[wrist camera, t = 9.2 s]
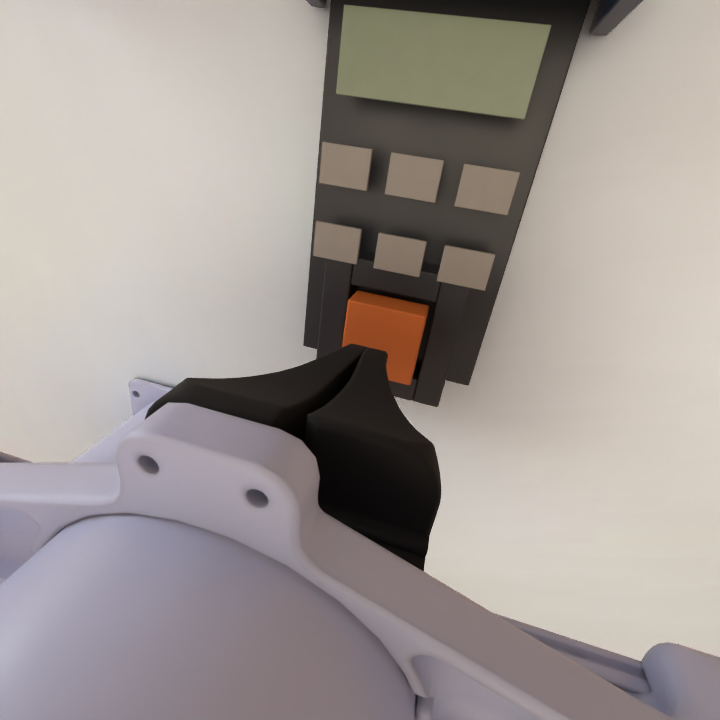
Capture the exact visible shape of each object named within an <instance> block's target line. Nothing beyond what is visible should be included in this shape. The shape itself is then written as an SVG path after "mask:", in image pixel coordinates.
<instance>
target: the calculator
mask: <svg viewBox="0 0 720 720" xmlns="http://www.w3.org/2000/svg"><path fill="white" fill-rule="evenodd" d="M589 3H590V0H331V4H330V17H329V29H328V42H327V55H326V67H325V80H324V93H323V105H322V118H321V130H320V143H319V156H318V168H317V181H316V194H315V206H314V219H313V232H312V244H311V257H310V269H309V282H308V295H307V307H306V320H305V333H304V346H307V347H311V348H315V349H317V358H316V359H319V358H321V357H323V356H325V355H328V354H330V353H332V352H334V351H336V350H338V349H340V348H342V343H343V335H344V328H345V320H346V312H347V305H348V300H349V299H350V298H351V297H352V296H353V295H354V294H355V293H356V291H358V290H359V291H364V292H368V293H373V294H378V295H382V296H387V297H392V298H396V299H401V300H406V301H410V302H415V303H420V304H424V305H428V306H429V310H428V314H427V319H426V323H425V327H424V331H423V336H422V340H421V344H420V348H419V353H418V357H417V361H416V365H415V370H414V373H413V377H412V381H411V384H410V385H406V384H402V383H398V382H394V381H390V380H389V384H390V387H391V390H392V393H393V396H395V397H399V398H403V399H407V400H413V401H415V402H419V403H423V404H427V405H431V406H435V407H438V405H439V401H440V398H441V394H442V391H443V387H444V384H445V380H447V381H452V382H456V383H460V384H464V385H469V382H470V379H471V376H472V373H473V369H474V366H475V363H476V360H477V357H478V354H479V350H480V347H481V344H482V341H483V338H484V335H485V332H486V328H487V325H488V322H489V319H490V316H491V313H492V309H493V306H494V303H495V300H496V297H497V294H498V290H499V287H500V284H501V281H502V278H503V275H504V271H505V268H506V265H507V262H508V259H509V256H510V252H511V249H512V246H513V243H514V240H515V237H516V234H517V230H518V227H519V224H520V221H521V218H522V215H523V211H524V208H525V205H526V202H527V199H528V196H529V192H530V189H531V186H532V183H533V180H534V177H535V173H536V170H537V167H538V164H539V161H540V158H541V154H542V151H543V148H544V145H545V142H546V139H547V136H548V132H549V129H550V126H551V123H552V120H553V117H554V113H555V110H556V107H557V104H558V101H559V98H560V94H561V91H562V88H563V85H564V82H565V79H566V75H567V72H568V69H569V66H570V63H571V60H572V56H573V53H574V50H575V47H576V44H577V41H578V38H579V34H580V31H581V28H582V25H583V22H584V19H585V15H586V12H587V9H588V6H589ZM344 5H354V6H364V7H375V8H385V9H395V10H405V11H415V12H426V13H436V14H446V15H456V16H466V17H476V18H487V19H497V20H507V21H517V22H527V23H538V24H548V25H551V29H550V33H549V36H548V39H547V43H546V46H545V50H544V53H543V57H542V60H541V64H540V67H539V71H538V74H537V78H536V81H535V85H534V88H533V92H532V95H531V99H530V102H529V106H528V109H527V113H526V116H525V119H524V120H520V119H512V118H505V117H498V116H490V115H483V114H475V113H468V112H461V111H453V110H446V109H438V108H431V107H424V106H416V105H409V104H402V103H394V102H387V101H379V100H372V99H365V98H357V97H350V96H342V95H337V94H336V88H337V77H338V66H339V55H340V44H341V33H342V23H343V12H344ZM322 142H329V143H335V144H342V145H348V146H354V147H361V148H367V149H373V155H372V162H371V170H370V177H369V184H368V191H363V190H357V189H351V188H346V187H340V186H334V185H328V184H322V183H319V177H320V165H321V153H322ZM391 152H393V153H399V154H406V155H412V156H419V157H425V158H432V159H438V160H444V165H443V169H442V174H441V179H440V183H439V188H438V193H437V197H436V202H435V203H432V202H426V201H421V200H415V199H409V198H403V197H398V196H392V195H386V194H385V189H386V183H387V177H388V170H389V164H390V157H391ZM464 164H470V165H477V166H483V167H489V168H496V169H502V170H509V171H515V172H520V175H519V178H518V182H517V185H516V188H515V192H514V195H513V198H512V202H511V205H510V208H509V212H508V215H502V214H496V213H490V212H484V211H479V210H473V209H467V208H461V207H455V206H454V205H455V201H456V196H457V192H458V188H459V184H460V179H461V175H462V171H463V167H464ZM316 221H323V222H328V223H333V224H339V225H344V226H349V227H355V228H360V229H362V236H361V243H360V250H359V257H358V264H351V263H346V262H341V261H336V260H331V259H326V258H321V257H317V256H313V250H314V238H315V226H316ZM380 232H381V233H386V234H392V235H397V236H402V237H408V238H413V239H418V240H424V241H427V244H426V249H425V253H424V258H423V263H422V267H421V272H420V276H419V277H415V276H410V275H405V274H400V273H395V272H390V271H385V270H380V269H375V268H373V266H374V260H375V253H376V247H377V241H378V234H379V233H380ZM445 245H450V246H455V247H461V248H466V249H471V250H477V251H482V252H487V253H492V254H495V258H494V262H493V265H492V268H491V272H490V275H489V278H488V282H487V285H486V288H485V291H484V290H479V289H474V288H469V287H464V286H459V285H454V284H449V283H444V282H439V281H437V277H438V272H439V268H440V264H441V260H442V256H443V251H444V247H445Z"/></svg>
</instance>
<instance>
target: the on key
mask: <svg viewBox="0 0 720 720" xmlns="http://www.w3.org/2000/svg"><path fill="white" fill-rule="evenodd" d="M428 310H429V306H428V305H424V304H420V303H415V302H410V301H406V300H401V299H396V298H392V297H387V296H382V295H378V294H373V293H368V292H364V291H359V290H358V291H356V293H355V294H354V295H353V296H352V297H351V298H350V299H349V300H348V305H347V312H346V320H345V328H344V335H343V343H342V347H344V346H346V345H349V344H351V343H352V344H357V345H361V346H365V347H369V348H374V349H378V350H382V351H386V353H387V354H388V359H387V364H386V369H387V375H388V380H390V381H394V382H398V383H402V384H406V385H410V384H411V381H412V377H413V373H414V370H415V365H416V361H417V357H418V353H419V348H420V344H421V340H422V336H423V331H424V327H425V323H426V319H427V314H428Z"/></svg>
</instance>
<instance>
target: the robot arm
mask: <svg viewBox="0 0 720 720" xmlns="http://www.w3.org/2000/svg"><path fill="white" fill-rule="evenodd" d="M387 359H388V354H387V353H386V351H382V350H378V349H374V348H369V347H365V346H361V345H357V344H352V343H351V344H349V345H346V346H344V347H342V348H340V349H338V350H336V351H334V352H332V353H330V354H328V355H325V356H323V357H321V358H319V359H316V360H314V361H311V362H308V363H306V364H303V365H301V366H298V367H294V368H291V369H287V370H284V371H280V372H275V373H270V374H264V375H258V376H251V377H241V378H225V379H208V378H187V379H185V380H184V381H182V382H181V383H180V384H178V385H177V386H176V387H174V388H170V387H167V386H163V385H159V384H156V383H152V382H148V381H145V380H141V379H136V378H135V379H133V380H132V381H130V382H129V390H130V396H131V402H132V409H133V415H134V416H132V417H131V418H130V419H128V420H127V421H125V422H124V423H123V424H121V425H120V426H119V427H117V428H116V429H115V430H113V431H112V432H110V433H109V434H108V435H106V436H105V437H104V438H102V439H101V440H100V441H98V442H97V443H96V444H94V445H93V446H91V447H90V448H89V449H87V450H86V451H85V452H83V453H82V454H81V455H79V456H78V457H76V458H75V459H74V460H72V461H71V462H70V463H33V462H30V461H27V460H24V459H21V458H18V457H15V456H12V455H9V454H6V453H3V452H0V720H720V657H717V656H714V655H710V654H707V653H704V652H701V651H698V650H695V649H691V648H688V647H685V646H682V645H679V644H674V643H660V644H657V645H655V646H653V647H652V648H651V649H650V650H649V651H648V652H647V653H646V654H645V656H644V658H643V659H642V661H638V660H635V659H632V658H629V657H626V656H623V655H620V654H617V653H614V652H611V651H608V650H605V649H601V648H598V647H595V646H592V645H589V644H586V643H583V642H580V641H577V640H574V639H571V638H568V637H565V636H562V635H559V634H556V633H553V632H550V631H546V630H543V629H540V628H537V627H534V626H531V625H528V624H525V623H522V622H519V621H516V620H513V619H510V618H507V617H504V616H501V615H498V614H494V613H492V612H490V611H489V610H487V609H485V608H484V607H482V606H480V605H479V604H477V603H475V602H474V601H472V600H470V599H469V598H467V597H465V596H464V595H462V594H460V593H458V592H457V591H455V590H453V589H452V588H450V587H448V586H447V585H445V584H443V583H442V582H440V581H438V580H437V579H435V578H433V577H432V576H430V575H428V574H427V573H425V572H424V563H425V556H426V554H427V550H428V543H429V535H430V532H431V529H432V526H433V523H434V520H435V517H436V514H437V511H438V508H439V504H440V499H441V480H440V471H439V466H438V460H437V456H436V452H435V448H434V445H433V443H431V442H430V441H429V440H428V439H427V438H425V437H424V436H423V435H422V434H420V433H419V432H418V431H417V430H416V429H415V428H414V427H413V426H412V425H411V424H410V423H409V421H408V420H407V419H406V417H405V416H404V415H403V413H402V412H401V410H400V408H399V406H398V404H397V402H396V400H395V398H394V396H393V393H392V390H391V387H390V384H389V380H388V375H387V369H386V364H387Z"/></svg>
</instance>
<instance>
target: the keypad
mask: <svg viewBox="0 0 720 720" xmlns="http://www.w3.org/2000/svg"><path fill="white" fill-rule="evenodd" d="M550 29H551V25H548V24H538V23H527V22H517V21H507V20H497V19H487V18H476V17H466V16H456V15H446V14H436V13H426V12H415V11H405V10H395V9H385V8H375V7H364V6H354V5H344V12H343V23H342V33H341V44H340V55H339V66H338V77H337V88H336V94H337V95H342V96H350V97H357V98H365V99H372V100H379V101H387V102H394V103H402V104H409V105H416V106H424V107H431V108H438V109H446V110H453V111H461V112H468V113H475V114H483V115H490V116H498V117H505V118H512V119H520V120H524V119H525V116H526V113H527V109H528V106H529V102H530V99H531V95H532V92H533V88H534V85H535V81H536V78H537V74H538V71H539V67H540V64H541V60H542V57H543V53H544V50H545V46H546V43H547V39H548V36H549V33H550ZM372 155H373V149H367V148H361V147H354V146H348V145H342V144H335V143H329V142H322V153H321V165H320V177H319V183H322V184H328V185H334V186H340V187H346V188H351V189H357V190H363V191H368V184H369V177H370V170H371V162H372ZM443 165H444V160H438V159H432V158H425V157H419V156H412V155H406V154H399V153H393V152H391V157H390V164H389V170H388V177H387V183H386V189H385V194H386V195H392V196H398V197H403V198H409V199H415V200H421V201H426V202H432V203H435V202H436V197H437V193H438V188H439V183H440V179H441V174H442V169H443ZM519 175H520V172H515V171H509V170H502V169H496V168H489V167H483V166H477V165H470V164H464V167H463V171H462V175H461V179H460V184H459V188H458V192H457V196H456V201H455V205H454V206H455V207H461V208H467V209H473V210H479V211H484V212H490V213H496V214H502V215H508V212H509V208H510V205H511V202H512V198H513V195H514V192H515V188H516V185H517V182H518V178H519ZM361 236H362V229H360V228H355V227H349V226H344V225H339V224H333V223H328V222H323V221H316V226H315V238H314V250H313V256H317V257H321V258H326V259H331V260H336V261H341V262H346V263H351V264H358V257H359V250H360V243H361ZM426 244H427V241H424V240H418V239H413V238H408V237H402V236H397V235H392V234H386V233H381V232H380V233H379V234H378V241H377V247H376V253H375V260H374V266H373V268H375V269H380V270H385V271H390V272H395V273H400V274H405V275H410V276H415V277H419V276H420V272H421V267H422V263H423V258H424V253H425V249H426ZM494 258H495V254H492V253H487V252H482V251H477V250H471V249H466V248H461V247H455V246H450V245H445V247H444V251H443V256H442V260H441V264H440V268H439V272H438V277H437V281H439V282H444V283H449V284H454V285H459V286H464V287H469V288H474V289H479V290H484V291H485V288H486V285H487V282H488V278H489V275H490V272H491V268H492V265H493V262H494Z"/></svg>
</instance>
